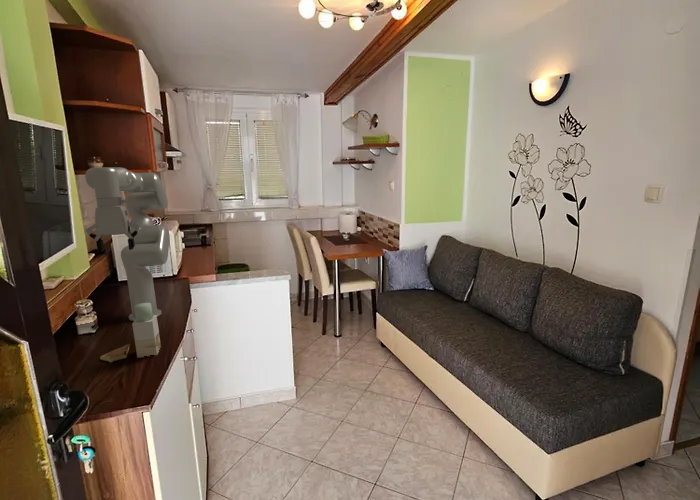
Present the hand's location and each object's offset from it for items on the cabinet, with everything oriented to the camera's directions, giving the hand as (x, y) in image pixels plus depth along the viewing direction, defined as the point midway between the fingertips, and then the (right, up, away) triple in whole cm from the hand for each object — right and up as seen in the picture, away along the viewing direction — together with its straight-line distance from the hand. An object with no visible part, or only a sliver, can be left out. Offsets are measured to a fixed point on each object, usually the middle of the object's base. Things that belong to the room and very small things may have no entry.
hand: (116, 250), depth 138 cm
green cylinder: (+16, -23, -11) cm, 30 cm away
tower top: (+16, -29, -9) cm, 35 cm away
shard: (+5, -36, -9) cm, 38 cm away
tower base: (+16, -35, -8) cm, 39 cm away
